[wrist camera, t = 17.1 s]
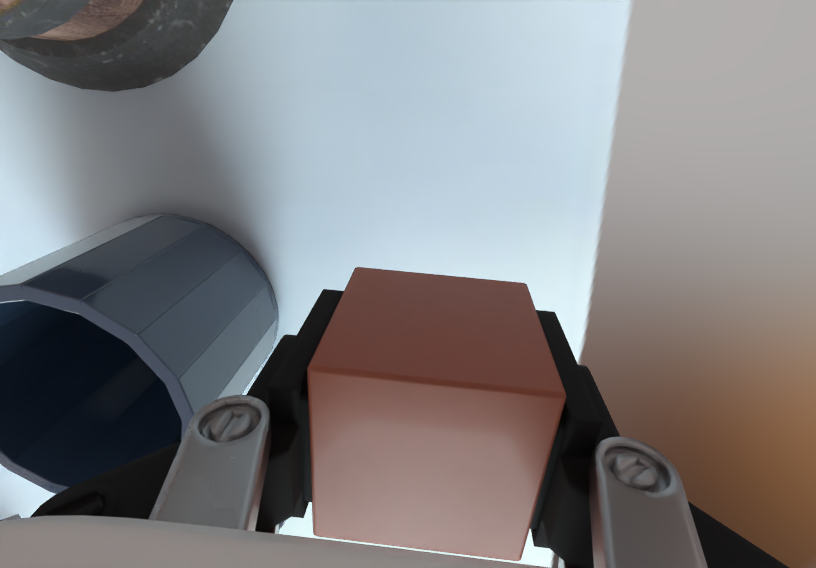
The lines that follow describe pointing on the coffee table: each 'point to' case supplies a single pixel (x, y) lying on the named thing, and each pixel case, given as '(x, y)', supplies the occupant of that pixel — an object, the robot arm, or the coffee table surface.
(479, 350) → the block
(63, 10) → the tankard
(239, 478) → the robot arm
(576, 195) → the coffee table surface
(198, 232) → the crock
